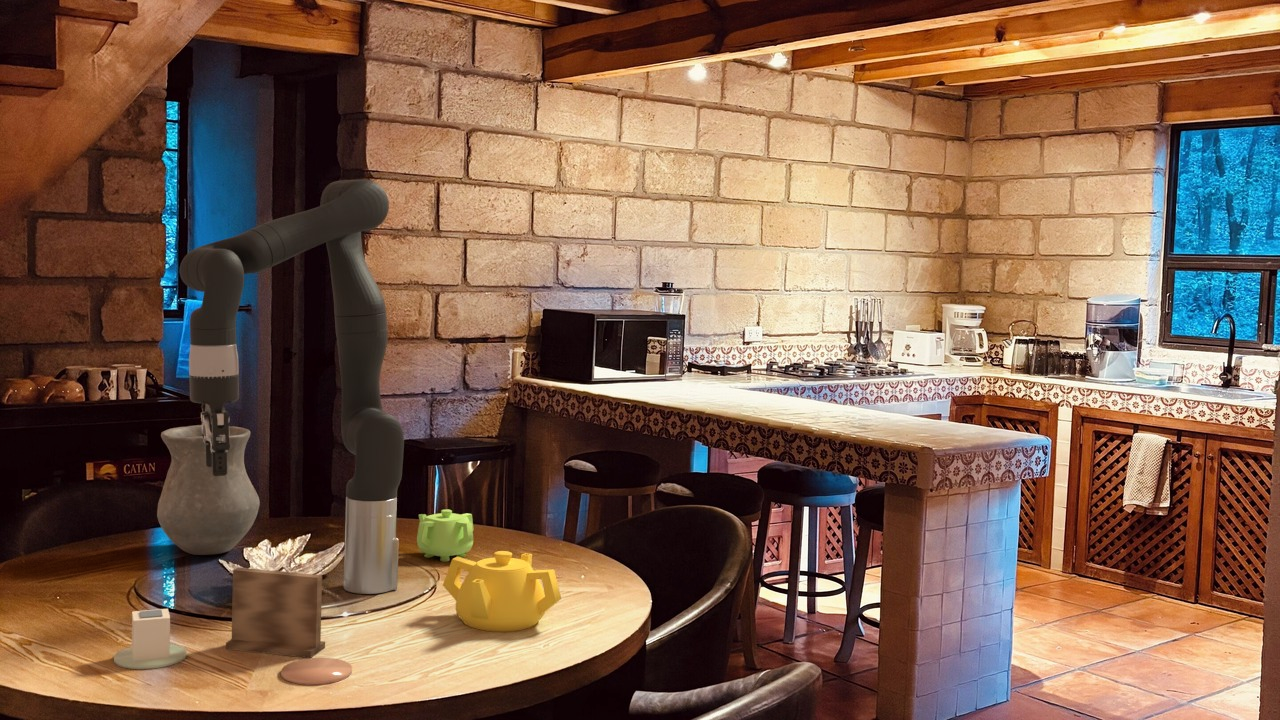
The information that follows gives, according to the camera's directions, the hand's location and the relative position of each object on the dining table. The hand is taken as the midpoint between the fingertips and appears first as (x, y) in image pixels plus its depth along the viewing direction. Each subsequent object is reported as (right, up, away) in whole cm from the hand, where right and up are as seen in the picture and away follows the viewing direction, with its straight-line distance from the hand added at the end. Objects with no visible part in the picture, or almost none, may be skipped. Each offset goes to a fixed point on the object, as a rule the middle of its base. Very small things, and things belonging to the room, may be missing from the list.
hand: (216, 470), depth 192 cm
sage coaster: (-4, -27, -16) cm, 31 cm away
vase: (-19, -21, +49) cm, 57 cm away
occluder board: (+12, -27, -9) cm, 31 cm away
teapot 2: (+45, -27, +11) cm, 54 cm away
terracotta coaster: (+22, -28, -19) cm, 40 cm away
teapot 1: (+28, -23, +54) cm, 65 cm away
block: (-4, -26, -16) cm, 31 cm away
